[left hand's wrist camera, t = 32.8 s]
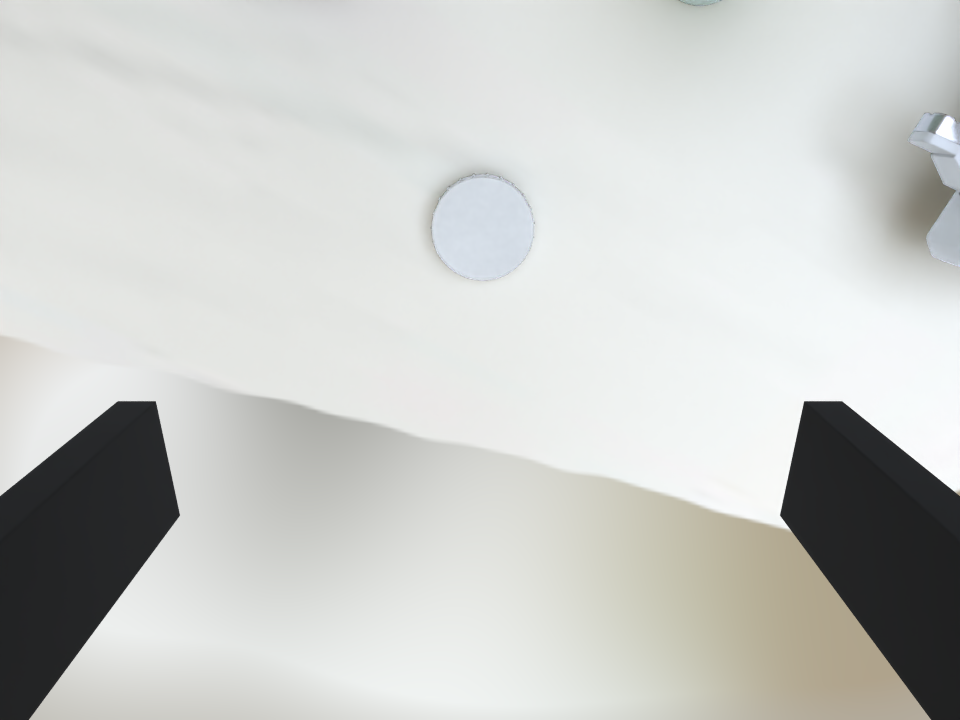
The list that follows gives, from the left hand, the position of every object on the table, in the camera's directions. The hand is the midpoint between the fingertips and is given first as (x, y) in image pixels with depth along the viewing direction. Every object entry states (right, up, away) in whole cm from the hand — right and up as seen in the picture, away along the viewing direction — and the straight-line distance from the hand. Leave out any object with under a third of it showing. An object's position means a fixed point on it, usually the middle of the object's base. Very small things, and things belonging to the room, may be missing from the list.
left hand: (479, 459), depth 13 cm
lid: (0, +10, +26) cm, 27 cm away
